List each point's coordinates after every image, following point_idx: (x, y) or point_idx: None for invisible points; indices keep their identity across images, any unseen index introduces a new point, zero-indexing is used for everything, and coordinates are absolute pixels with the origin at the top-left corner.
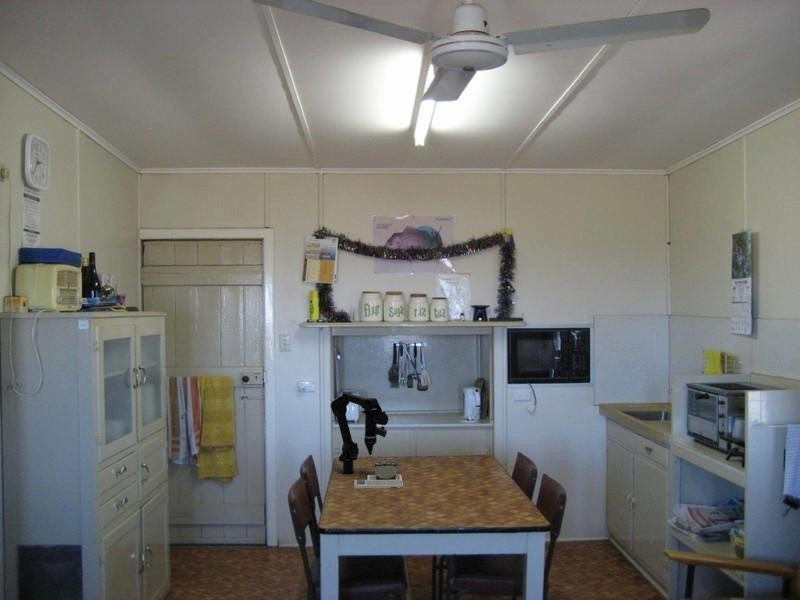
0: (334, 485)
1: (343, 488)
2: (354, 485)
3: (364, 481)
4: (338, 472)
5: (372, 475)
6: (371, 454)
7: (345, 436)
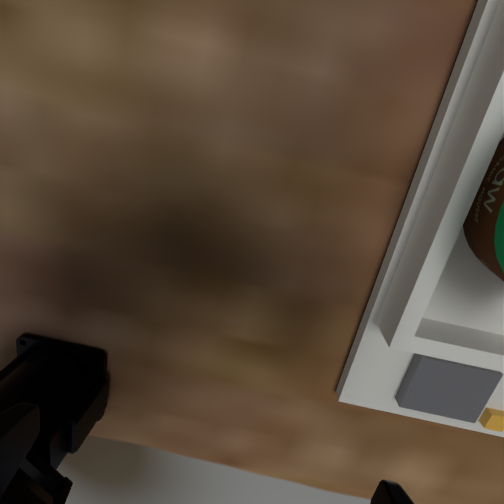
0: None
1: (464, 473)
2: (488, 432)
3: (464, 370)
4: None
5: (423, 311)
6: (401, 489)
7: None
